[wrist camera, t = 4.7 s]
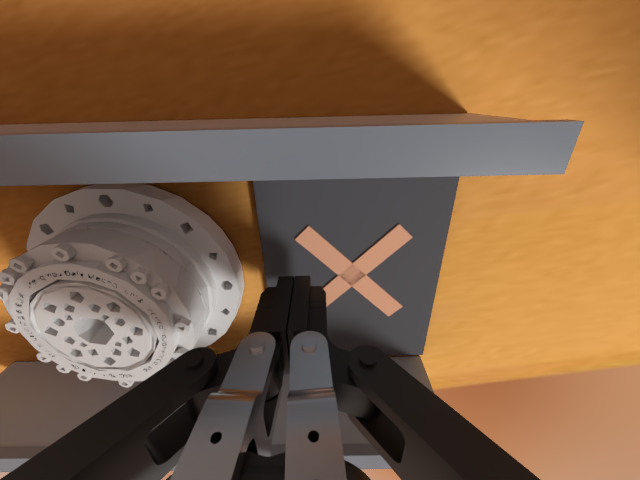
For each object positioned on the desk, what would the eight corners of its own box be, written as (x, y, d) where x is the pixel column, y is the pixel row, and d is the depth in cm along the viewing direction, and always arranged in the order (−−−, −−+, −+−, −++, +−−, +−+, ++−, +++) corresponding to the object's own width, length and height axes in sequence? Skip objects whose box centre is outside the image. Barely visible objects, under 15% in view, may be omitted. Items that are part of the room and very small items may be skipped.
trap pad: (460, 151, 12) (465, 153, 12) (420, 350, 17) (423, 355, 17) (250, 156, 12) (249, 157, 12) (276, 352, 18) (276, 357, 17)
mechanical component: (105, 130, 12) (23, 270, 15) (-1, 147, 8) (-82, 331, 11) (283, 269, 15) (183, 360, 18) (269, 330, 11) (145, 432, 14)
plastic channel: (469, 110, 11) (584, 121, 6) (417, 368, 18) (453, 468, 13) (-165, 125, 12) (-521, 147, 7) (22, 373, 18) (-85, 472, 14)
